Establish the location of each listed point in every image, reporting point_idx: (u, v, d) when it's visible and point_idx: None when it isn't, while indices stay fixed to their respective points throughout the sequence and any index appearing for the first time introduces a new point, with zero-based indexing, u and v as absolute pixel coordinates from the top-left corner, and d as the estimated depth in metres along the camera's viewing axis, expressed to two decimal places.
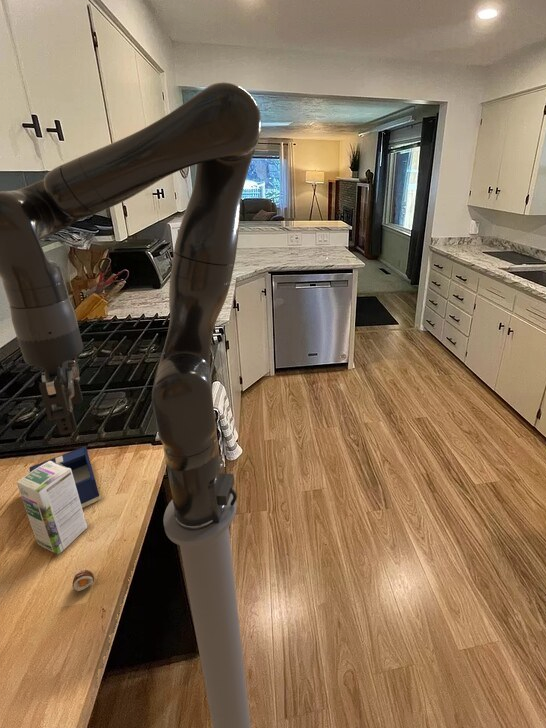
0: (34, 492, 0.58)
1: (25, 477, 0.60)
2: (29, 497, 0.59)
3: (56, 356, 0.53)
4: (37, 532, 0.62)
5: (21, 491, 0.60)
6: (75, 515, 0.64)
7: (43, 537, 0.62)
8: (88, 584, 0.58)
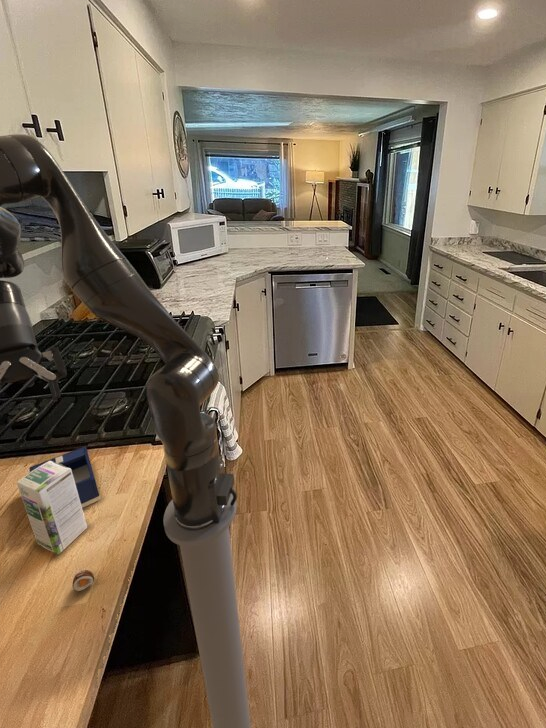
0: (34, 492, 0.58)
1: (25, 477, 0.60)
2: (29, 497, 0.59)
3: None
4: (37, 532, 0.62)
5: (21, 491, 0.60)
6: (75, 515, 0.64)
7: (43, 537, 0.62)
8: (88, 584, 0.58)
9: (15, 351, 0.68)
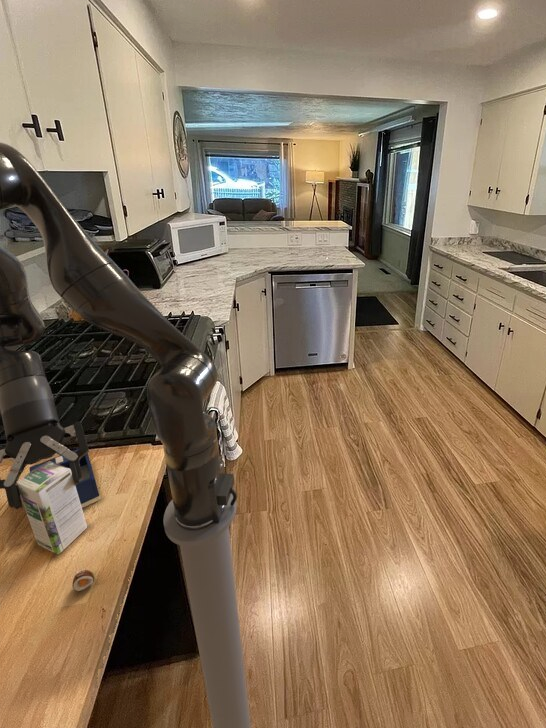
0: (33, 493, 0.58)
1: (24, 477, 0.60)
2: (28, 498, 0.59)
3: (5, 431, 0.62)
4: (37, 532, 0.62)
5: (21, 491, 0.60)
6: (75, 516, 0.64)
7: (43, 537, 0.62)
8: (88, 584, 0.58)
9: (35, 430, 0.63)
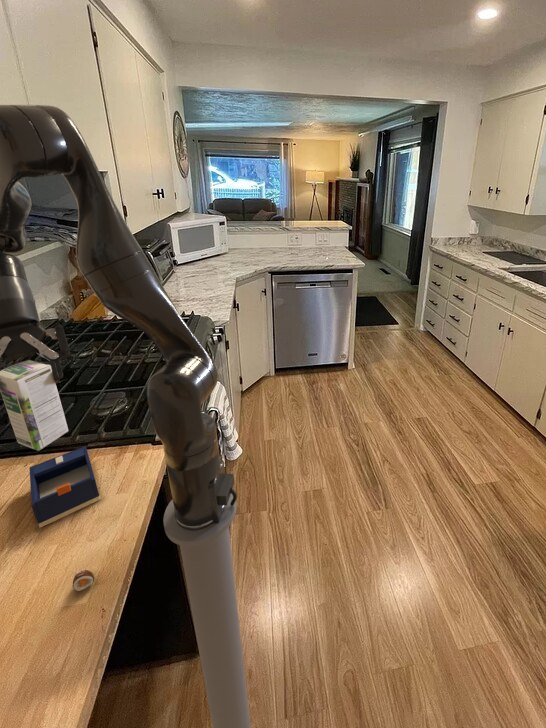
0: (12, 382, 0.58)
1: (4, 370, 0.60)
2: (7, 388, 0.59)
3: None
4: (17, 428, 0.62)
5: None
6: (55, 415, 0.64)
7: (23, 433, 0.62)
8: (88, 584, 0.58)
9: (15, 327, 0.63)
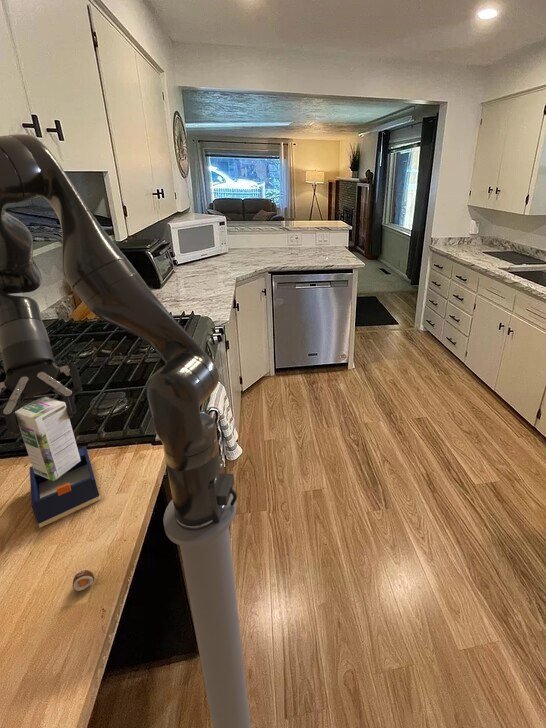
0: (30, 420, 0.63)
1: (22, 408, 0.65)
2: (26, 425, 0.64)
3: (4, 366, 0.67)
4: (34, 460, 0.67)
5: (19, 420, 0.65)
6: (69, 447, 0.70)
7: (39, 465, 0.67)
8: (88, 584, 0.58)
9: (32, 367, 0.68)
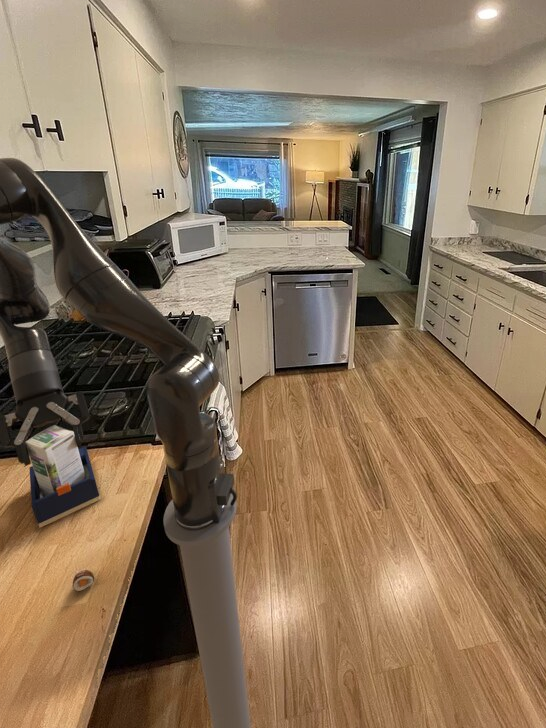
0: (41, 450, 0.66)
1: (33, 438, 0.68)
2: (36, 455, 0.67)
3: (15, 397, 0.69)
4: (43, 488, 0.70)
5: (29, 450, 0.67)
6: (77, 474, 0.72)
7: (49, 492, 0.70)
8: (88, 584, 0.58)
9: (42, 397, 0.71)
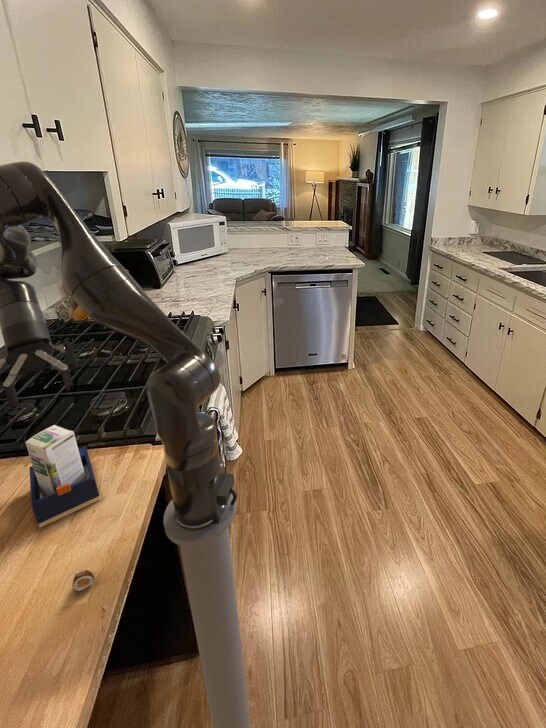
0: (41, 450, 0.66)
1: (33, 437, 0.68)
2: (36, 455, 0.67)
3: (5, 344, 0.73)
4: (43, 488, 0.70)
5: (29, 450, 0.67)
6: (77, 474, 0.72)
7: (49, 492, 0.70)
8: (88, 584, 0.58)
9: (31, 345, 0.75)
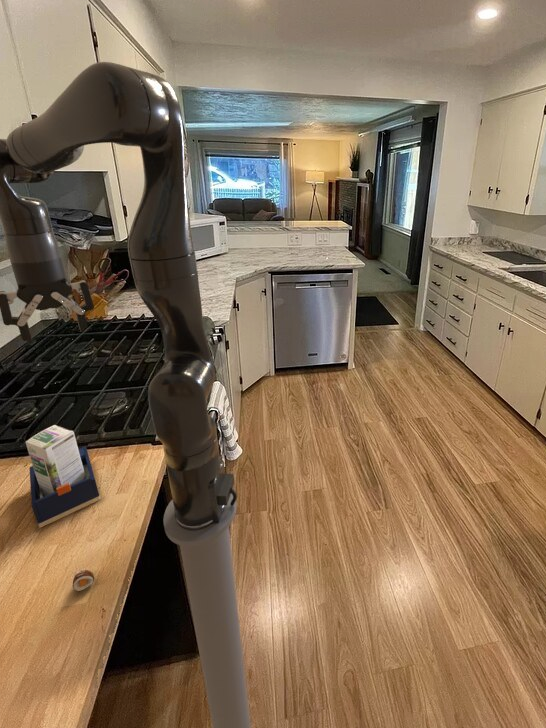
0: (41, 450, 0.66)
1: (33, 437, 0.68)
2: (36, 455, 0.67)
3: (16, 278, 0.65)
4: (43, 488, 0.70)
5: (29, 449, 0.67)
6: (77, 474, 0.72)
7: (49, 492, 0.70)
8: (88, 584, 0.58)
9: None
